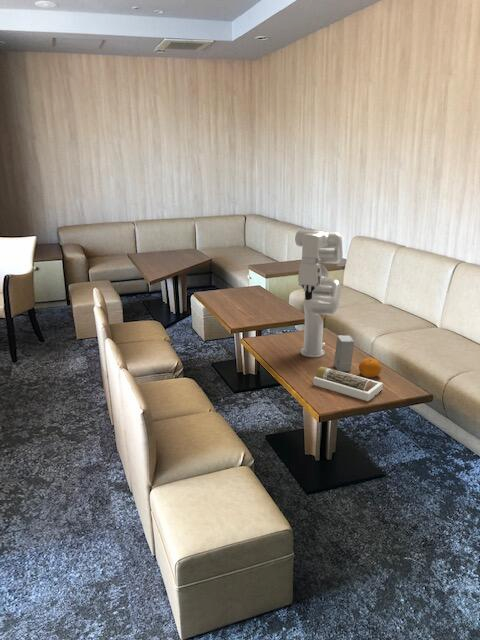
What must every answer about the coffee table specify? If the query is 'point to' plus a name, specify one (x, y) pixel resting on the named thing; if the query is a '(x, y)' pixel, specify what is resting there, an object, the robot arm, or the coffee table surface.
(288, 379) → the coffee table surface
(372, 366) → the fruit
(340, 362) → the skincare box
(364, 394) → the u-rest
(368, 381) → the paper tube
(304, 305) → the robot arm
